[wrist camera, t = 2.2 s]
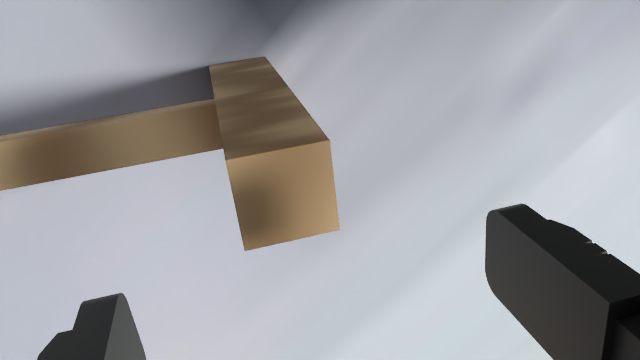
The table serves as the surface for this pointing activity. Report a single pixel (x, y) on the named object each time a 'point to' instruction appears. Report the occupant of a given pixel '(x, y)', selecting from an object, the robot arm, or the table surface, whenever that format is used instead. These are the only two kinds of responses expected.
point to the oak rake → (201, 136)
